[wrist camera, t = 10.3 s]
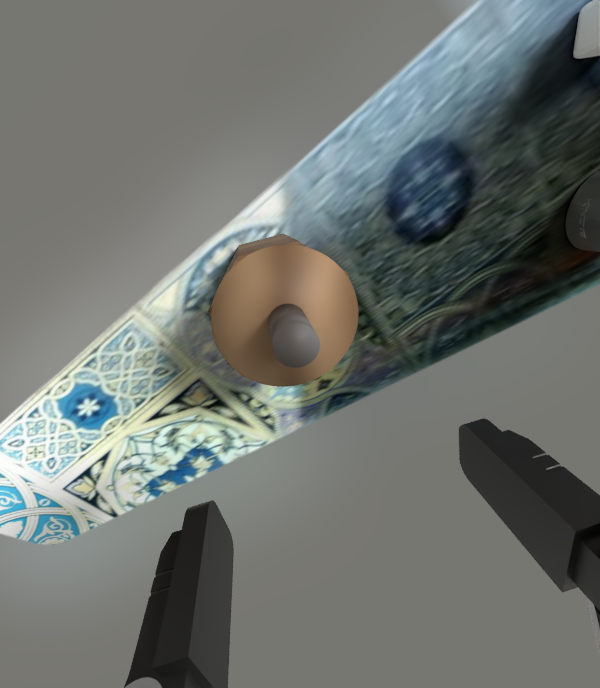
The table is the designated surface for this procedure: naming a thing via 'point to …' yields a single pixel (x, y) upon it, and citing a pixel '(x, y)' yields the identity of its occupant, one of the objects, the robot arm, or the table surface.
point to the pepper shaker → (588, 31)
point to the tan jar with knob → (283, 312)
